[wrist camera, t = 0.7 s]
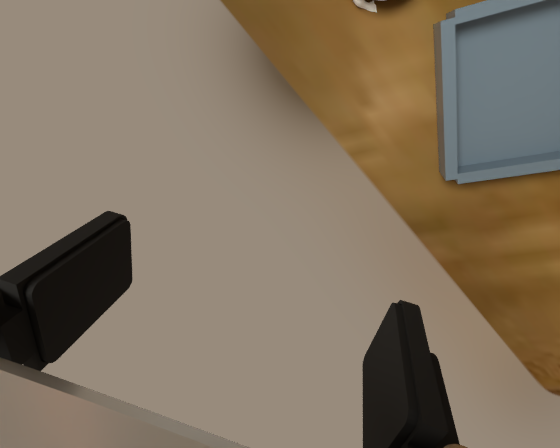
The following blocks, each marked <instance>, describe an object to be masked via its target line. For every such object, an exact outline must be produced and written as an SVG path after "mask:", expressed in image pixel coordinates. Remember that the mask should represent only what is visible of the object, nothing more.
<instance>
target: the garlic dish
mask: <svg viewBox="0 0 560 448" xmlns="http://www.w3.org/2000/svg"><path fill="white" fill-rule="evenodd" d="M433 29H434V54H435V79H436V104H437V129H438V154H439V172H440V173H441V175H442V176H443V178H444V179H445V180H446V181H448V180H455V181H456V182H457V184H462V183H469V182H477V181H484V180H491V179H498V178H505V177H512V176H519V175H526V174H534V173H541V172H548V171H555V170H560V0H487V1H483V2H480V3H476V4H473V5H469V6H466V7H462V8H459V9H455V10H453V11H451V12H449V13H447V14H446V20H443V21H440V22H438V23H436V24H433Z"/></svg>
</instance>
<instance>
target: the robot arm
mask: <svg viewBox="0 0 560 448" xmlns="http://www.w3.org/2000/svg"><path fill="white" fill-rule="evenodd" d="M131 283H132V259H131V232H130V222H129V221H127V218H126V216H124V215H121V214H118V213H114V212H111V211H107V212H104V213H103V214H101V215H100V216H98V217H96V218H95V219H93V220H91V221H90V222H88V223H87V224H85V225H83V226H82V227H80V228H78V229H77V230H75V231H74V232H72V233H70V234H69V235H67V236H65V237H64V238H62V239H60V240H59V241H57V242H56V243H54V244H52V245H51V246H49V247H47V248H46V249H44V250H42V251H41V252H39V253H37V254H36V255H34V256H33V257H31V258H29V259H28V260H26V261H24V262H23V263H21V264H19V265H18V266H16V267H15V268H13V269H11V270H10V271H8V272H6V273H5V274H3V275H1V276H0V448H248V447H246V446H243V445H240V444H238V443H235V442H233V441H230V440H227V439H225V438H222V437H219V436H216V435H214V434H211V433H208V432H206V431H203V430H200V429H198V428H195V427H192V426H189V425H187V424H184V423H181V422H179V421H176V420H173V419H170V418H167V417H165V416H162V415H159V414H157V413H154V412H151V411H149V410H146V409H143V408H140V407H138V406H135V405H132V404H129V403H126V402H124V401H121V400H118V399H115V398H113V397H110V396H107V395H105V394H102V393H99V392H96V391H94V390H91V389H88V388H85V387H83V386H80V385H77V384H74V383H71V382H69V381H66V380H63V379H60V378H58V377H55V376H52V375H49V374H46V373H44V372H41V370H42V369H43V368H44V367H45V366H46V365H47V364H48V363H53V362H55V361H56V360H57V359H58V358H59V357H60V356H61V355H62V354H63V353H64V352H65V351H66V350H67V349H68V348H69V347H70V346H71V345H72V344H73V343H74V342H75V341H76V340H77V339H78V338H79V337H80V336H81V335H82V334H83V333H84V332H85V331H86V330H87V329H88V328H89V327H90V326H91V325H92V324H93V323H94V322H95V321H96V320H97V319H98V318H99V317H100V316H101V315H102V314H103V313H104V312H105V311H106V310H107V309H108V308H109V307H110V306H111V305H112V304H113V303H114V302H115V301H116V300H117V299H118V298H119V297H120V296H121V295H122V294H123V293H124V292H125V291H126V290H127V289H128V288H129V287H130V285H131ZM22 364H23V365H22ZM363 448H467V447H465V446H462V445H460V444H459V440H458V436H457V432H456V428H455V424H454V420H453V416H452V412H451V408H450V405H449V401H448V397H447V393H446V389H445V385H444V381H443V377H442V373H441V369H440V365H439V361H438V359H437V357H436V355H435V354H433V353H430V350H429V346H428V342H427V338H426V333H425V329H424V324H423V320H422V316H421V311H420V308H419V306H418V305H415V304H412V303H409V302H405V301H402V300H400V301H399V302H398V303H392V304H391V306H390V308H389V310H388V312H387V314H386V316H385V317H384V320H383V321H382V323H381V325H380V327H379V329H378V331H377V333H376V335H375V337H374V339H373V341H372V343H371V345H370V347H369V349H368V350H367V352H366V354H365V357H364V361H363Z"/></svg>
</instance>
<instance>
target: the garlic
mask: <svg viewBox="0 0 560 448" xmlns="http://www.w3.org/2000/svg"><path fill="white" fill-rule="evenodd" d="M353 1H354V3H355V4H356V5H357V6H358V7H360V8H363V9H366V10H368V11H371V12H376V13H377V10H376V5H375V4H374V1H372V2H370V3H368V2H366V1H365V0H353ZM378 1H385V0H378Z"/></svg>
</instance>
